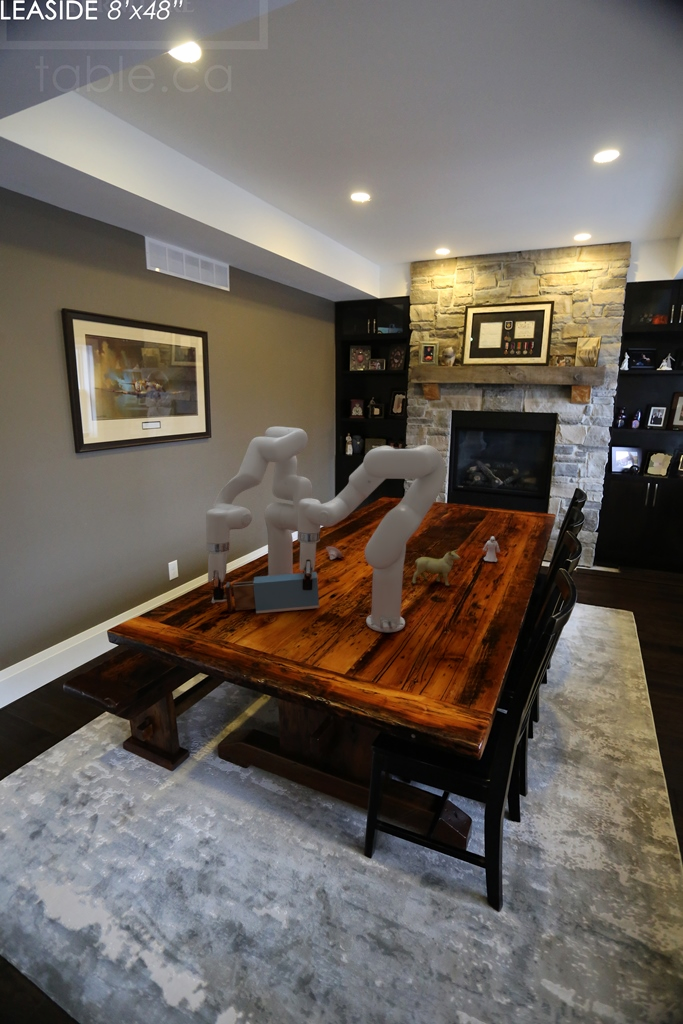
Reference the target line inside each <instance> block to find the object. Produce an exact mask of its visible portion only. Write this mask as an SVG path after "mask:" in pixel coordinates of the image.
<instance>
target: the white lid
mask: <svg viewBox="0 0 683 1024" xmlns="http://www.w3.org/2000/svg"><path fill="white" fill-rule="evenodd" d="M325 551H326V552H327V553H328V556H329V560H331V561H333V560H335V559H336V558H343V553H342V551H341V550H340V549H338V548H337V547H335V546H329V545H328V546H326V547H325Z"/></svg>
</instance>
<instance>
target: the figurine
mask: <svg viewBox="0 0 683 1024" xmlns="http://www.w3.org/2000/svg"><path fill="white" fill-rule="evenodd" d="M482 551H483V552H486V554H485V556H484V557H483V560H484V561H485V562H495V563H498V558H497V554H496V553H498V554H499V553H501V550H500V547H499V543H498V541H497V540H496V538H495V536H493V535H492V536H490V539H489V540H487V542H486V543H485V544H484V546H483V548H482Z"/></svg>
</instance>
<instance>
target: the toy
mask: <svg viewBox="0 0 683 1024" xmlns="http://www.w3.org/2000/svg"><path fill="white" fill-rule="evenodd" d="M457 552H459V549H455V550H452V551H447V552H446V553H445V554H444V556H443V557H442V558H433V557H428V556H421V557H418V558H417V559H416V560H415V567H416V571H414V572H413V577H412V582H411V583H412V584H413V585H417V581H416V580H417V578H418V576H419V575H420V576H421V577H422V578H423V580H424V581H427V580H428V577H427V575H426V574H425V573H428V574H431V575H437V577H436V580H435V581H436V582H437V583H441V580H440V579H441V577H442V578H443V580H444V584H445V587H448V588H449V587H451V585H450V583H449V582H448V575H449V574H450V572H451V571H452V568H453V566H454V561H460V560H461V556H459V555H458V554H457Z"/></svg>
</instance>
